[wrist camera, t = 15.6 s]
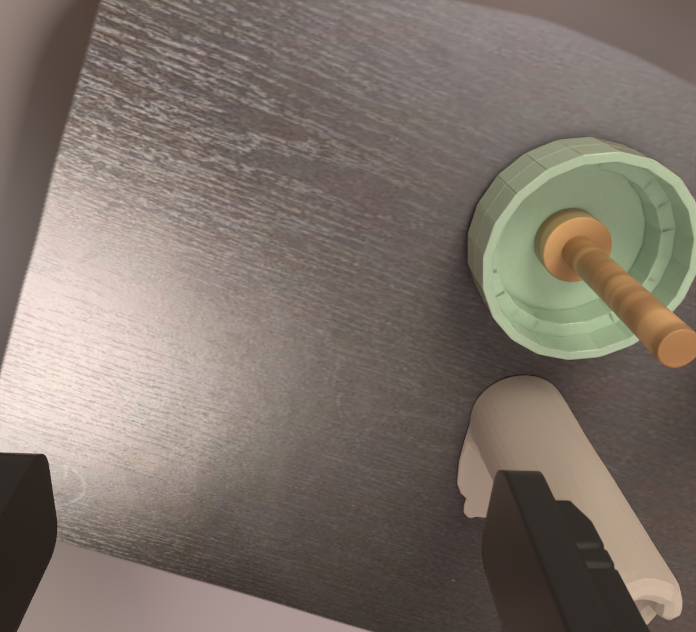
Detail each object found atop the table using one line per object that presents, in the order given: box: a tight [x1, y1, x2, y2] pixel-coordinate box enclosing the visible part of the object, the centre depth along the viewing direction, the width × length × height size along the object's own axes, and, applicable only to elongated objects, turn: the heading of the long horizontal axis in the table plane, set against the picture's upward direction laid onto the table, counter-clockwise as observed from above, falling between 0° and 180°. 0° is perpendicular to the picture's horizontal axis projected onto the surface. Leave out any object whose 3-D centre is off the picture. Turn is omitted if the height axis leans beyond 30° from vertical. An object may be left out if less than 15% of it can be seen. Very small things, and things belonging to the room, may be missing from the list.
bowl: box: [468, 137, 696, 360], centre depth 42 cm, size 13×13×5 cm
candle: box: [457, 375, 682, 625], centre depth 43 cm, size 7×14×20 cm, turn 172°
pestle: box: [534, 208, 696, 367], centre depth 37 cm, size 4×4×15 cm
